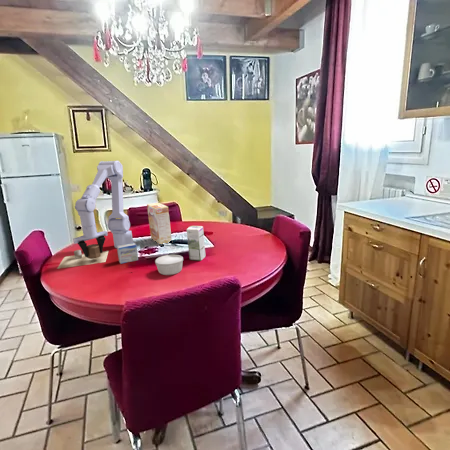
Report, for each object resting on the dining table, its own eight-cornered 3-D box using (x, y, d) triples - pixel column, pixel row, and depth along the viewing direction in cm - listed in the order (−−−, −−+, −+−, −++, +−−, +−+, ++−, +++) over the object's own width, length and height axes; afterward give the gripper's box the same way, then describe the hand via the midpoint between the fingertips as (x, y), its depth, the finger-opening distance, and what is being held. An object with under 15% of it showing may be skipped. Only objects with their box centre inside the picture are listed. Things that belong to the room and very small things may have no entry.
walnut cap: (101, 253, 154) (99, 243, 153) (99, 257, 149) (98, 247, 148) (88, 255, 153) (86, 245, 152) (86, 259, 148) (84, 248, 146)
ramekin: (187, 266, 142) (186, 254, 141) (178, 277, 131) (177, 264, 130) (163, 265, 145) (161, 254, 143) (152, 276, 134) (150, 263, 133)
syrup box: (206, 256, 152) (203, 225, 148) (200, 261, 147) (198, 229, 143) (194, 255, 154) (191, 225, 150) (189, 260, 148) (186, 228, 145)
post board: (109, 253, 164) (107, 244, 163) (106, 265, 149) (104, 254, 148) (65, 259, 160) (63, 249, 158) (57, 271, 145) (55, 261, 143)
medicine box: (121, 267, 146) (118, 248, 144) (119, 264, 150) (116, 245, 147) (139, 263, 149) (136, 244, 147) (136, 260, 153) (134, 242, 151)
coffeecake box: (150, 238, 185) (146, 204, 180) (163, 236, 188) (159, 202, 183) (159, 245, 172) (155, 208, 167) (172, 242, 175) (168, 206, 170)
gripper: (101, 220, 155) (105, 248, 158) (68, 227, 145) (74, 257, 149) (107, 222, 150) (112, 251, 153) (74, 230, 140) (80, 260, 144)
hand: (93, 254), depth 151 cm, fingers closed on walnut cap, 6 cm apart
